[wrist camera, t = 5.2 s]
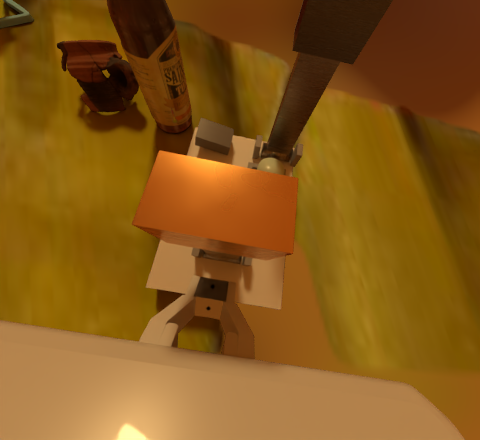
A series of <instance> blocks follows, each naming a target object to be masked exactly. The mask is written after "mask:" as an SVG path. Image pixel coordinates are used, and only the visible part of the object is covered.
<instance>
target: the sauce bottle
mask: <svg viewBox="0 0 480 440" xmlns="http://www.w3.org/2000/svg"><path fill="white" fill-rule="evenodd" d="M107 5H108V9H109V13H110V16H111V19H112V21H113V23H114V26H115V28H116V30H117V33H118V35H119V37H120V39H121V44H122V47H123V49H124V52H125V54H126V56H127V59H128V61H129V63H130V65H131V68H132V70H133V72H134V75H135V77H136V79H137V82H138V84H139V86H140V89H141V91H142V93H143V96H144V98H145V100H146V103H147V105H148V107H149V110H150V112H151V114H152V116H153V118H154V119H155V121H156V123H157V125H158V126H159V128H160V129H162V130H163V131H166V132H169V133H179V132H182V131H184V130H185V129H187V128H188V127H189V126H190V124H191V122H192V116H191V112H192V111H191V105H190V100H189V94H188V89H187V84H186V78H185V73H184V68H183V62H182V57H181V52H180V46H179V41H178V35H177V30H176V25H175V22H174V19H173V17H172V15H171V12H170V10H169V8H168V6H167V3H166V1H165V0H107Z"/></svg>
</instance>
